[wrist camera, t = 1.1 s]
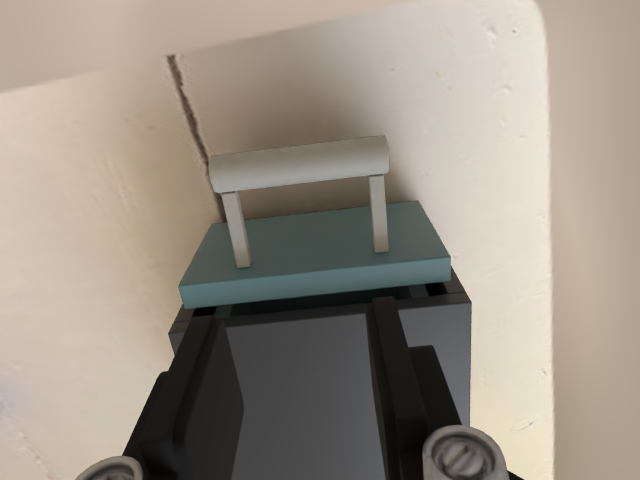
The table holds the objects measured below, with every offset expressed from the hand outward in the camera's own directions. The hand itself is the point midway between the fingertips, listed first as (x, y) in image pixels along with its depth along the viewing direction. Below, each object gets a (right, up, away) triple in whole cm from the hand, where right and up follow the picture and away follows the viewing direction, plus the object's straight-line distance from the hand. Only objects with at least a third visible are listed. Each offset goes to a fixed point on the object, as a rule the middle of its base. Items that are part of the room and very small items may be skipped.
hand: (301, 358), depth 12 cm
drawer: (+1, +1, +15) cm, 16 cm away
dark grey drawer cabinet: (+1, -3, +18) cm, 19 cm away
